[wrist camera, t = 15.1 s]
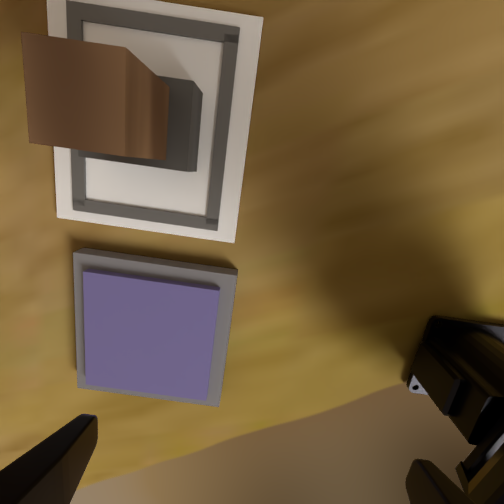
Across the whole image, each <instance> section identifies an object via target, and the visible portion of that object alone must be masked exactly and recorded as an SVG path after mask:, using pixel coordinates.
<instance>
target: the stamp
mask: <svg viewBox="0 0 504 504" xmlns="http://www.w3.org/2000/svg"><path fill="white" fill-rule="evenodd" d="M21 38H22V51H23V65H24V78H25V91H26V105H27V118H28V131H29V143H34V144H41V145H48V146H55V147H62V148H69V149H76V150H78V156H79V157H86V158H93V159H100V160H107V161H114V162H121V163H128V164H135V165H142V166H149V167H156V168H163V169H170V170H177V171H184V172H197V161H198V149H199V136H200V124H201V111H202V99H203V93H202V91H201V90H200V89H199V87H198V86H197V85H196V83H195V82H194V81H192V80H185V79H178V78H171V77H165V76H158V75H156V74H155V73H154V72H152V71H151V70H150V69H149V68H148V67H147V66H146V65H145V64H144V63H143V62H141V61H140V60H139V59H138V58H137V57H136V56H135V55H134V54H133V53H132V52H130V51H129V50H128V49H127V48H126V47H121V46H114V45H107V44H101V43H94V42H87V41H80V40H74V39H67V38H60V37H53V36H47V35H40V34H33V33H26V32H21Z"/></svg>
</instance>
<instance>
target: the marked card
mask: <svg viewBox="0 0 504 504" xmlns="http://www.w3.org/2000/svg"><path fill="white" fill-rule="evenodd" d="M47 18H48V36H53V37H60V38H67V39H74V40H80V41H87V42H94V43H101V44H107V45H114V46H121V47H126V48H127V49H128V50H129V51H130V52H132V53H133V54H134V55H135V56H136V57H137V58H138V59H139V60H140V61H141V62H143V63H144V64H145V65H146V66H147V67H148V68H149V69H150V70H151V71H152V72H154V73H155V74H156V75H158V76H165V77H171V78H178V79H185V80H192V81H194V82H195V83H196V85H197V86H198V87H199V89H200V90H201V91H202V93H203V99H202V111H201V124H200V136H199V149H198V161H197V172H184V171H177V170H170V169H163V168H156V167H149V166H142V165H135V164H128V163H121V162H114V161H107V160H100V159H93V158H86V157H79V156H78V150H76V149H69V148H62V147H55V146H54V163H55V184H56V204H57V218H64V219H71V220H77V221H84V222H91V223H98V224H105V225H112V226H119V227H126V228H133V229H140V230H147V231H154V232H161V233H168V234H174V235H181V236H188V237H195V238H202V239H209V240H216V241H223V242H230V243H234V242H235V235H236V227H237V219H238V212H239V204H240V196H241V188H242V181H243V173H244V165H245V158H246V150H247V142H248V134H249V127H250V119H251V111H252V103H253V96H254V88H255V80H256V72H257V65H258V57H259V49H260V41H261V34H262V26H263V17H258V16H252V15H245V14H239V13H233V12H226V11H220V10H213V9H207V8H201V7H194V6H188V5H181V4H175V3H169V2H162V1H156V0H47Z"/></svg>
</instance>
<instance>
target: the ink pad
mask: <svg viewBox="0 0 504 504" xmlns="http://www.w3.org/2000/svg"><path fill="white" fill-rule="evenodd" d="M73 268H74V298H75V327H76V356H77V386H78V388H83V389H90V390H97V391H105V392H112V393H119V394H127V395H134V396H142V397H149V398H156V399H164V400H171V401H178V402H186V403H193V404H200V405H208V406H215V407H219V404H220V398H221V391H222V384H223V377H224V369H225V362H226V355H227V347H228V340H229V333H230V325H231V318H232V311H233V303H234V296H235V289H236V281H237V274H238V270H237V269H230V268H223V267H216V266H209V265H202V264H195V263H188V262H181V261H174V260H167V259H160V258H153V257H146V256H139V255H132V254H125V253H118V252H111V251H104V250H97V249H90V248H82V249H79V250H77V251H75V252H73Z"/></svg>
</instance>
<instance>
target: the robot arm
mask: <svg viewBox="0 0 504 504" xmlns="http://www.w3.org/2000/svg"><path fill="white" fill-rule="evenodd" d="M438 321H439V323H438V324H436V325H435V323H436V322H438ZM414 385H415V386H414ZM407 387H408V389H409V390H410V391H411V392H413V393H419V394H426V395H429V396H430V398H431V399H432V400H433V401H434V403H435V404H436V406H437V407H438V408H439V410H440V411H441V412H442V414H443V415H445V416H449V418H450V419H451V420H452V422H453V423H454V424H455V426H456V427H457V428H458V430H459V431H460V432H461V433H462V435H463V436H464V437H465V439H466V440H467V441H468V443H469V444H472V445H477V446H476V447H475V448H474V450H472V452H471V453H470V454H469V455H468V456H467V458H466V459H465V460H464V461H463V462H462V461H461V462H460V463H459V464H458V465H457V466H456V468H455V469H456V472H457V474H458V477H459V480H460V482H461V485H462V488H463V490H464V492H463V491H462V490H461V489H460V488H459V487H457V486H456V485H455V484H454V483H453V482H452V481H451V480H450V479H449V478H448V477H447V476H446V475H445V474H444V473H443V472H442V471H441V470H440V469H439V468H438V467H436V466H435V465H434V464H433V463H432V462H431V461H429V460H423V459H415V460H413V462H412V464H411V467H410V469H409V472H408V474H407V477H406V490H407V494H408V497H409V501H410V504H504V325H500V324H493V323H486V322H479V321H472V320H465V319H458V318H451V317H444V316H433V317H431V318H430V319H429V321H428V324H427V327H426V330H425V332H424V335H423V338H422V341H421V343H420V345H419V348H418V351H417V354H416V356H415V359H414V362H413V365H412V368H411V372H410V375H409V378H408V381H407ZM97 439H98V420H97V416H95V415H89V414H81V415H79V416H77V417H76V418H75V419H73V420H72V421H70V422H69V423H68V424H66V425H65V426H63V427H62V428H60V429H59V430H58V431H56V432H55V433H53V434H52V435H50V436H49V437H48V438H46V439H45V440H43V441H42V442H41V443H39V444H38V445H36V446H35V447H33V448H32V449H31V450H29V451H28V452H26V453H25V454H24V455H22V456H21V457H19V458H18V459H16V460H15V461H14V462H12V463H11V464H9V465H8V466H6V467H5V468H4V469H2V470H1V471H0V504H70V502H71V500H72V497H73V495H74V493H75V491H76V489H77V487H78V484H79V482H80V480H81V478H82V475H83V473H84V471H85V469H86V467H87V464H88V462H89V460H90V458H91V456H92V453H93V451H94V449H95V447H96V444H97Z"/></svg>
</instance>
